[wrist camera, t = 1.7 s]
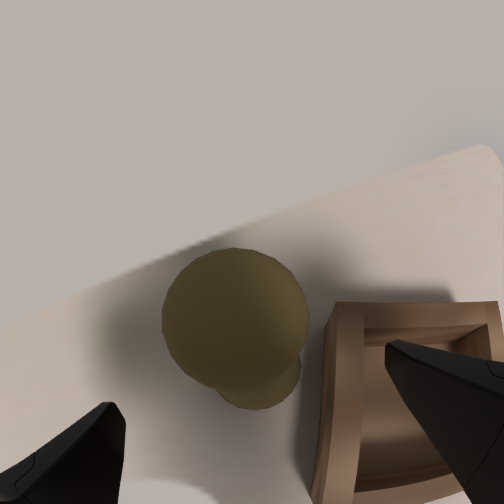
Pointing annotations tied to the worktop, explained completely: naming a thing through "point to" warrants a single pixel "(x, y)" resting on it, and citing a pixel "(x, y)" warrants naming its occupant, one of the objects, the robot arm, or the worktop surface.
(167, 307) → the cork
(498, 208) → the worktop surface
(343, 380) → the socket block
